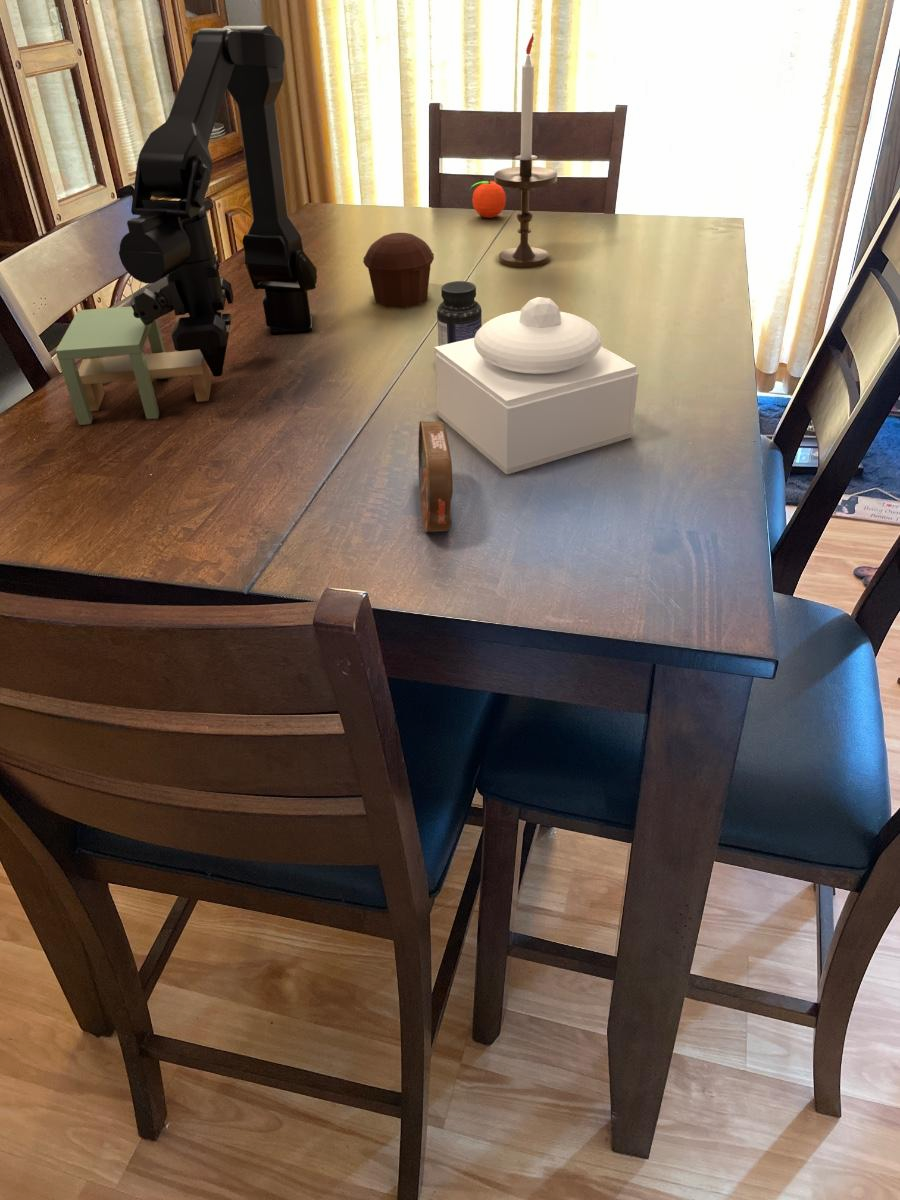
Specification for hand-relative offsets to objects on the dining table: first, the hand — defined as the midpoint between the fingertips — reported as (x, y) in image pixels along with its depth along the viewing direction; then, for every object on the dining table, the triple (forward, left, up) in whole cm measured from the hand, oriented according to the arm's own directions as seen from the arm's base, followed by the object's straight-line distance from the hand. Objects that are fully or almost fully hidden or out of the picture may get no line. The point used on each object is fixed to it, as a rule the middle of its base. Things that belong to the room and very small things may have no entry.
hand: (218, 375), depth 119 cm
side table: (+13, 0, -2) cm, 13 cm away
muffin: (-27, -31, -3) cm, 41 cm away
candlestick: (-51, -46, -3) cm, 69 cm away
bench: (+10, 0, -2) cm, 10 cm away
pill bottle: (-33, -2, -3) cm, 34 cm away
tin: (-25, +35, -3) cm, 43 cm away
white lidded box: (-39, +18, -3) cm, 43 cm away
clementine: (-49, -75, -3) cm, 90 cm away
